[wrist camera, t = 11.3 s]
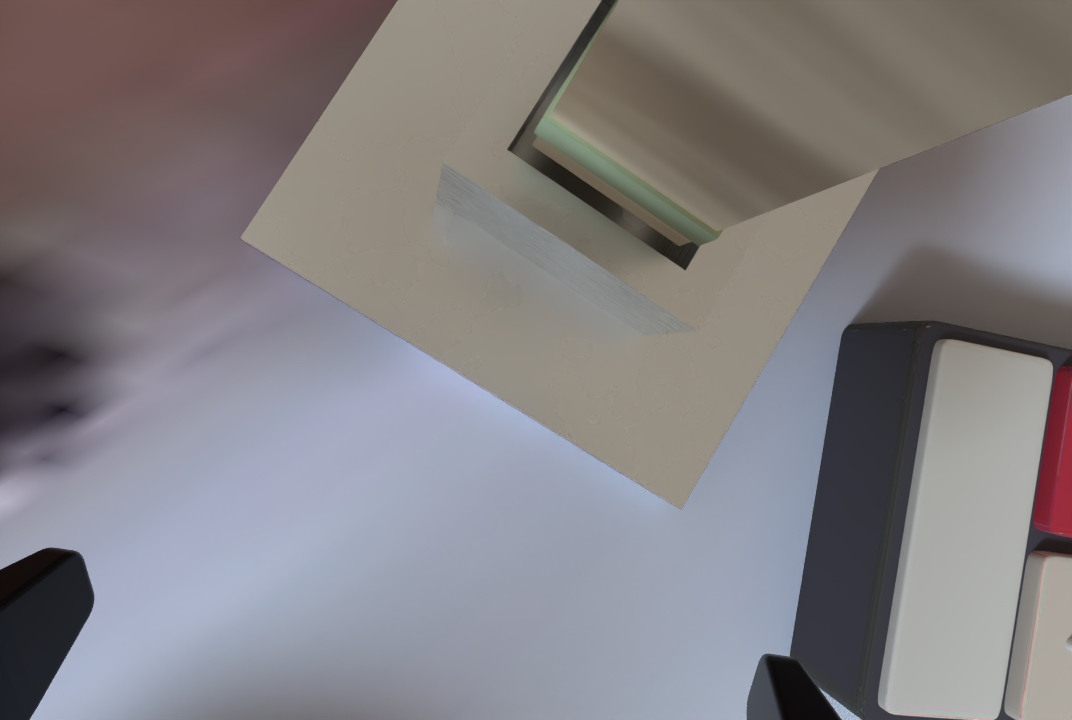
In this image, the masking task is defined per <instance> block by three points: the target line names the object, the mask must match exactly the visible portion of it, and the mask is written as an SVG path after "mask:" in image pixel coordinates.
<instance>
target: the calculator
mask: <svg viewBox="0 0 1072 720" xmlns="http://www.w3.org/2000/svg"><path fill="white" fill-rule="evenodd" d="M790 657H793V658H795V659H796V660H798V661H799V662H800V663H801V664H802V666H803V667H804V668H805V670H806V671H807V673H808V674H809V675H810V677H811V678H812V679H813V681H814V682H815V684H816V685H817V686H818V687H819V688H821V689H822V690H823V691H825V692H826V693H827V694H829V695H830V696H831V697H832V698H834V699H835V700H836V701H838V702H839V703H840V704H842V705H843V706H844V707H846V708H847V709H848V710H850V711H851V712H852V713H854V714H855V715H856V716H858V717H859V718H860V719H862V720H1072V350H1069V349H1064V348H1060V347H1055V346H1050V345H1046V344H1041V343H1036V342H1031V341H1027V340H1022V339H1017V338H1013V337H1008V336H1003V335H999V334H994V333H989V332H985V331H980V330H975V329H971V328H966V327H961V326H957V325H952V324H947V323H942V322H937V321H908V322H885V323H864V324H852V325H849V326H848V327H846V328H845V330H844V331H843V333H842V337H841V342H840V348H839V354H838V360H837V366H836V372H835V379H834V385H833V391H832V397H831V403H830V409H829V416H828V422H827V428H826V434H825V440H824V447H823V453H822V459H821V465H820V471H819V477H818V484H817V490H816V496H815V502H814V508H813V515H812V521H811V527H810V533H809V539H808V545H807V552H806V558H805V564H804V570H803V576H802V583H801V589H800V595H799V601H798V607H797V613H796V620H795V626H794V632H793V638H792V644H791V651H790Z"/></svg>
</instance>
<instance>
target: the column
mask: <svg viewBox="0 0 1072 720" xmlns="http://www.w3.org/2000/svg"><path fill="white" fill-rule="evenodd" d="M1070 94H1072V0H616V1H615V3H614V5H613V6H612V8H611V9H610V11H609V13H608V14H607V16H606V17H605V19H604V20H603V22H602V24H601V25H600V27H599V28H598V30H597V32H596V33H595V35H594V36H593V38H592V39H591V41H590V43H589V44H588V46H587V47H586V49H585V51H584V52H583V54H582V55H581V57H580V58H579V60H578V62H577V63H576V65H575V66H574V68H573V69H572V71H571V73H570V74H569V76H568V77H567V79H566V81H565V82H564V84H563V85H562V87H561V88H560V90H559V92H558V93H557V95H556V96H555V98H554V100H553V101H552V103H551V104H550V106H549V107H548V109H547V111H546V112H545V114H544V115H543V117H542V119H541V120H540V122H539V124H538V126H537V127H536V129H535V131H534V134H536V135H537V137H536V139H535V141H534V142H533V144H532V146H533V147H535V148H536V149H538V150H539V151H541V152H542V153H544V154H545V155H547V156H548V157H550V158H551V159H552V160H554V161H555V162H557V163H558V164H560V165H561V166H563V167H564V168H566V169H567V170H569V171H570V172H571V173H573V174H574V175H576V176H577V177H579V178H580V179H582V180H583V181H585V182H586V183H588V184H589V185H590V186H592V187H593V188H595V189H596V190H598V191H599V192H601V193H602V194H604V195H605V196H607V197H608V198H609V199H611V200H612V201H614V202H615V203H617V204H618V205H620V206H621V207H623V208H624V209H626V210H627V211H628V212H630V213H631V214H633V215H634V216H636V217H637V218H639V219H640V220H642V221H643V222H645V223H646V224H648V225H649V226H650V227H652V228H653V229H655V230H656V231H658V232H659V233H661V234H662V235H664V236H665V237H667V238H668V239H669V240H671V241H672V242H674V243H675V244H677V245H678V246H682V245H684V244H687V243H689V242H693V243H694V244H696V245H697V246H700V245H703V244H705V243H708V242H711V241H714V240H716V239H718V238H719V236H720V235H721V233H722V231H723V230H724V229H725V228H728V227H731V226H733V225H736V224H738V223H741V222H743V221H746V220H749V219H751V218H754V217H756V216H759V215H761V214H764V213H767V212H769V211H772V210H774V209H777V208H779V207H782V206H785V205H787V204H790V203H792V202H795V201H797V200H800V199H803V198H805V197H808V196H810V195H813V194H815V193H818V192H821V191H823V190H826V189H828V188H831V187H833V186H836V185H839V184H841V183H844V182H846V181H849V180H851V179H854V178H857V177H859V176H862V175H864V174H867V173H870V172H872V171H875V170H877V169H880V168H882V167H885V166H888V165H890V164H893V163H895V162H898V161H900V160H903V159H906V158H908V157H911V156H913V155H916V154H918V153H921V152H924V151H926V150H929V149H931V148H934V147H936V146H939V145H942V144H944V143H947V142H949V141H952V140H954V139H957V138H960V137H962V136H965V135H967V134H970V133H972V132H975V131H978V130H980V129H983V128H985V127H988V126H990V125H993V124H996V123H998V122H1001V121H1003V120H1006V119H1008V118H1011V117H1014V116H1016V115H1019V114H1021V113H1024V112H1026V111H1029V110H1032V109H1034V108H1037V107H1039V106H1042V105H1044V104H1047V103H1050V102H1052V101H1055V100H1057V99H1060V98H1063V97H1065V96H1068V95H1070Z"/></svg>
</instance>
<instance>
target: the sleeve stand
mask: <svg viewBox="0 0 1072 720" xmlns="http://www.w3.org/2000/svg"><path fill="white" fill-rule="evenodd" d="M615 1H616V0H398V1H397V2H396V4H395V5H394V7H393V9H392V10H391V12H390V13H389V15H388V16H387V18H386V19H385V21H384V22H383V24H382V25H381V27H380V28H379V30H378V31H377V33H376V34H375V36H374V37H373V39H372V40H371V42H370V43H369V45H368V46H367V48H366V49H365V51H364V52H363V54H362V55H361V57H360V58H359V60H358V61H357V63H356V64H355V66H354V67H353V69H352V70H351V72H350V73H349V75H348V76H347V78H346V79H345V81H344V82H343V84H342V85H341V87H340V88H339V90H338V91H337V93H336V95H335V96H334V98H333V99H332V101H331V102H330V104H329V105H328V107H327V108H326V110H325V111H324V113H323V114H322V116H321V117H320V119H319V120H318V122H317V123H316V125H315V126H314V128H313V129H312V131H311V132H310V134H309V135H308V137H307V138H306V140H305V141H304V143H303V144H302V146H301V147H300V149H299V150H298V152H297V153H296V155H295V156H294V158H293V159H292V161H291V162H290V164H289V165H288V167H287V168H286V170H285V171H284V173H283V174H282V176H281V177H280V179H279V180H278V182H277V184H276V185H275V187H274V188H273V190H272V191H271V193H270V194H269V196H268V197H267V199H266V200H265V202H264V203H263V205H262V206H261V208H260V209H259V211H258V212H257V214H256V215H255V217H254V218H253V220H252V221H251V223H250V224H249V226H248V227H247V229H246V230H245V232H244V233H243V235H242V236H241V239H242V240H244V241H245V242H246V243H248V244H250V245H251V246H253V247H254V248H256V249H258V250H259V251H261V252H263V253H264V254H266V255H267V256H269V257H271V258H272V259H274V260H276V261H277V262H279V263H280V264H282V265H284V266H285V267H287V268H289V269H290V270H292V271H293V272H295V273H297V274H298V275H300V276H302V277H303V278H305V279H306V280H308V281H310V282H311V283H313V284H315V285H316V286H318V287H319V288H321V289H323V290H324V291H326V292H328V293H329V294H331V295H332V296H334V297H336V298H337V299H339V300H341V301H342V302H344V303H345V304H347V305H349V306H350V307H352V308H354V309H355V310H357V311H358V312H360V313H362V314H363V315H365V316H367V317H368V318H370V319H371V320H373V321H375V322H376V323H378V324H380V325H381V326H383V327H384V328H386V329H388V330H389V331H391V332H393V333H394V334H396V335H397V336H399V337H401V338H402V339H404V340H406V341H407V342H409V343H411V344H412V345H414V346H415V347H417V348H419V349H420V350H422V351H424V352H425V353H427V354H428V355H430V356H432V357H433V358H435V359H437V360H438V361H440V362H441V363H443V364H445V365H446V366H448V367H450V368H451V369H453V370H454V371H456V372H458V373H459V374H461V375H463V376H464V377H466V378H467V379H469V380H471V381H472V382H474V383H476V384H477V385H479V386H480V387H482V388H484V389H485V390H487V391H489V392H490V393H492V394H493V395H495V396H497V397H498V398H500V399H502V400H503V401H505V402H506V403H508V404H510V405H511V406H513V407H515V408H516V409H518V410H519V411H521V412H523V413H524V414H526V415H528V416H529V417H531V418H532V419H534V420H536V421H537V422H539V423H541V424H542V425H544V426H545V427H547V428H549V429H550V430H552V431H554V432H555V433H557V434H558V435H560V436H562V437H563V438H565V439H567V440H568V441H570V442H571V443H573V444H575V445H576V446H578V447H580V448H581V449H583V450H584V451H586V452H588V453H589V454H591V455H593V456H594V457H596V458H597V459H599V460H601V461H602V462H604V463H606V464H607V465H609V466H610V467H612V468H614V469H615V470H617V471H619V472H620V473H622V474H624V475H625V476H627V477H628V478H630V479H632V480H633V481H635V482H637V483H638V484H640V485H641V486H643V487H645V488H646V489H648V490H650V491H651V492H653V493H654V494H656V495H658V496H659V497H661V498H663V499H664V500H666V501H667V502H669V503H671V504H673V505H674V506H676V507H678V508H679V509H682V507H683V505H684V504H685V502H686V500H687V499H688V497H689V495H690V493H691V492H692V490H693V488H694V486H695V485H696V483H697V481H698V480H699V478H700V476H701V474H702V473H703V471H704V469H705V468H706V466H707V464H708V462H709V461H710V459H711V457H712V456H713V454H714V452H715V450H716V449H717V447H718V445H719V443H720V442H721V440H722V438H723V437H724V435H725V433H726V431H727V430H728V428H729V426H730V425H731V423H732V421H733V419H734V418H735V416H736V414H737V413H738V411H739V409H740V407H741V406H742V404H743V402H744V400H745V399H746V397H747V395H748V394H749V392H750V390H751V388H752V387H753V385H754V383H755V382H756V380H757V378H758V376H759V375H760V373H761V371H762V370H763V368H764V366H765V364H766V363H767V361H768V359H769V358H770V356H771V354H772V352H773V351H774V349H775V347H776V345H777V344H778V342H779V340H780V339H781V337H782V335H783V333H784V332H785V330H786V328H787V327H788V325H789V323H790V321H791V320H792V318H793V316H794V315H795V313H796V311H797V309H798V308H799V306H800V304H801V302H802V301H803V299H804V297H805V296H806V294H807V292H808V290H809V289H810V287H811V285H812V284H813V282H814V280H815V278H816V277H817V275H818V273H819V272H820V270H821V268H822V266H823V265H824V263H825V261H826V259H827V258H828V256H829V254H830V253H831V251H832V249H833V247H834V246H835V244H836V242H837V241H838V239H839V237H840V235H841V234H842V232H843V230H844V229H845V227H846V225H847V223H848V222H849V220H850V218H851V217H852V215H853V213H854V211H855V210H856V208H857V206H858V204H859V203H860V201H861V199H862V198H863V196H864V194H865V192H866V191H867V189H868V187H869V186H870V184H871V182H872V180H873V179H874V177H875V175H876V174H877V172H878V170H879V169H877V170H875V171H872V172H870V173H867V174H864V175H862V176H859V177H857V178H854V179H851V180H849V181H846V182H844V183H841V184H839V185H836V186H833V187H831V188H828V189H826V190H823V191H821V192H818V193H815V194H813V195H810V196H808V197H805V198H803V199H800V200H797V201H795V202H792V203H790V204H787V205H785V206H782V207H779V208H777V209H774V210H772V211H769V212H767V213H764V214H761V215H759V216H756V217H754V218H751V219H749V220H746V221H743V222H741V223H738V224H736V225H733V226H731V227H728V228H725V229H724V230H723V231H722V233H721V235H720V236H719V238H718V239H716V240H714V241H711V242H708V243H705V244H703V245H700V246H697V245H696V244H694V243H693V242H689V243H687V244H684V245H682V246H678V245H677V244H675V243H674V242H672V241H671V240H669V239H668V238H667V237H665V236H664V235H662V234H661V233H659V232H658V231H656V230H655V229H653V228H652V227H650V226H649V225H648V224H646V223H645V222H643V221H642V220H640V219H639V218H637V217H636V216H634V215H633V214H631V213H630V212H628V211H627V210H626V209H624V208H623V207H621V206H620V205H618V204H617V203H615V202H614V201H612V200H611V199H609V198H608V197H607V196H605V195H604V194H602V193H601V192H599V191H598V190H596V189H595V188H593V187H592V186H590V185H589V184H588V183H586V182H585V181H583V180H582V179H580V178H579V177H577V176H576V175H574V174H573V173H571V172H570V171H569V170H567V169H566V168H564V167H563V166H561V165H560V164H558V163H557V162H555V161H554V160H552V159H551V158H550V157H548V156H547V155H545V154H544V153H542V152H541V151H539V150H538V149H536V148H535V147H533V146H532V144H533V142H534V141H535V139H536V137H537V135H536V134H534V131H535V129H536V127H537V126H538V124H539V122H540V120H541V119H542V117H543V115H544V114H545V112H546V111H547V109H548V107H549V106H550V104H551V103H552V101H553V100H554V98H555V96H556V95H557V93H558V92H559V90H560V88H561V87H562V85H563V84H564V82H565V81H566V79H567V77H568V76H569V74H570V73H571V71H572V69H573V68H574V66H575V65H576V63H577V62H578V60H579V58H580V57H581V55H582V54H583V52H584V51H585V49H586V47H587V46H588V44H589V43H590V41H591V39H592V38H593V36H594V35H595V33H596V32H597V30H598V28H599V27H600V25H601V24H602V22H603V20H604V19H605V17H606V16H607V14H608V13H609V11H610V9H611V8H612V6H613V5H614V3H615Z"/></svg>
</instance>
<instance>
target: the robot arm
mask: <svg viewBox="0 0 1072 720" xmlns="http://www.w3.org/2000/svg"><path fill="white" fill-rule="evenodd" d="M93 604H94V592H93V588H92V585H91V582H90V578H89V575H88V571H87V568H86V565H85V561H84V559H83V556H82V555H81V554H80V553H79V552H77V551H73V550H66V549H60V548H46V549H43V550H40V551H38V552H36V553H34V554H32V555H30V556H28V557H26V558H24V559H21V560H19V561H17V562H15V563H13V564H11V565H9V566H7V567H5V568H3V569H1V570H0V720H30V718H31V716H32V715H33V713H34V711H35V710H36V708H37V706H38V705H39V703H40V701H41V700H42V698H43V696H44V694H45V693H46V691H47V689H48V687H49V686H50V684H51V682H52V680H53V679H54V677H55V675H56V673H57V672H58V670H59V668H60V666H61V665H62V663H63V661H64V659H65V658H66V656H67V654H68V652H69V651H70V649H71V647H72V645H73V644H74V642H75V640H76V638H77V637H78V635H79V633H80V631H81V629H82V628H83V626H84V624H85V622H86V621H87V619H88V617H89V615H90V613H91V611H92V608H93ZM747 720H842V719H841V718H840V717H839V715H838V714H837V713H836V711H835V710H834V708H833V707H832V706H831V704H830V703H829V701H828V700H827V699H826V697H825V696H824V695H823V693H822V692H821V690H820V689H819V688H818V686H817V685H816V684H815V682H814V681H813V679H812V678H811V677H810V675H809V674H808V673H807V671H806V670H805V668H804V667H803V666H802V664H801V663H800V662H799V661H798V660H796V659H795V658H793V657H788V656H781V655H774V654H764V655H763V656H762V657H761V658H760V660H759V663H758V666H757V670H756V673H755V676H754V679H753V683H752V686H751V689H750V692H749V696H748V701H747Z"/></svg>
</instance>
